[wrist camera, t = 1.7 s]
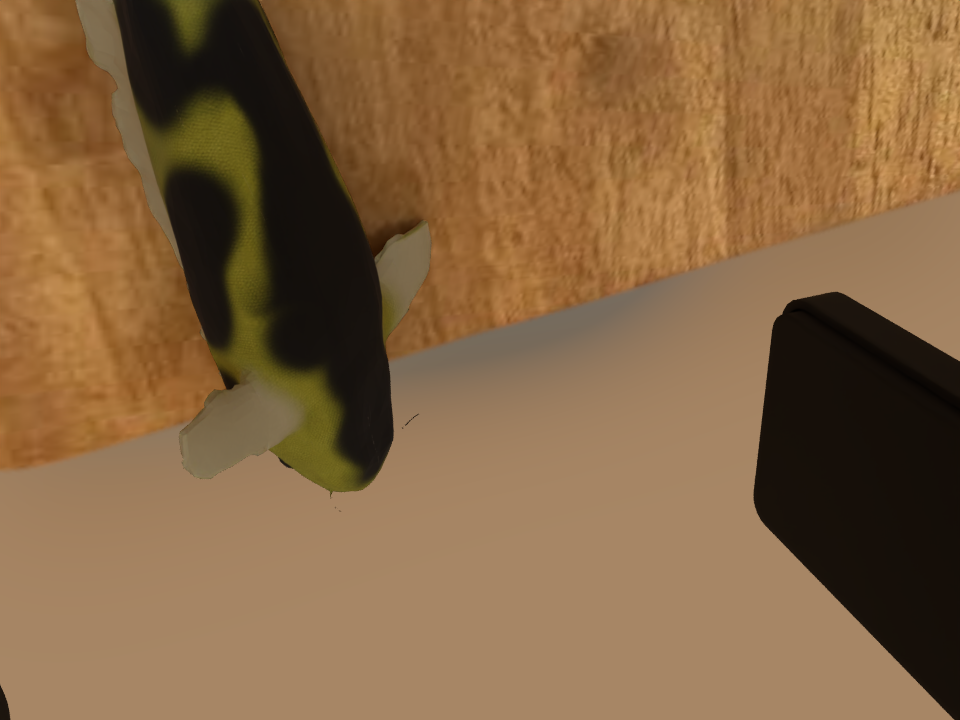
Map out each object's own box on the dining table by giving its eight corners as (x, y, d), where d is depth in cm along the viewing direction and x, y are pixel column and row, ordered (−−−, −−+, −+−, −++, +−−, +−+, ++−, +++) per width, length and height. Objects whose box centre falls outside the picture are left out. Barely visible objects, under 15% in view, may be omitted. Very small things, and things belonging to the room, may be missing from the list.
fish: (581, 402, 29) (342, 366, 34) (385, -648, 16) (50, -455, 21) (396, 676, 22) (125, 578, 27) (-239, -874, 9) (-528, -495, 14)
